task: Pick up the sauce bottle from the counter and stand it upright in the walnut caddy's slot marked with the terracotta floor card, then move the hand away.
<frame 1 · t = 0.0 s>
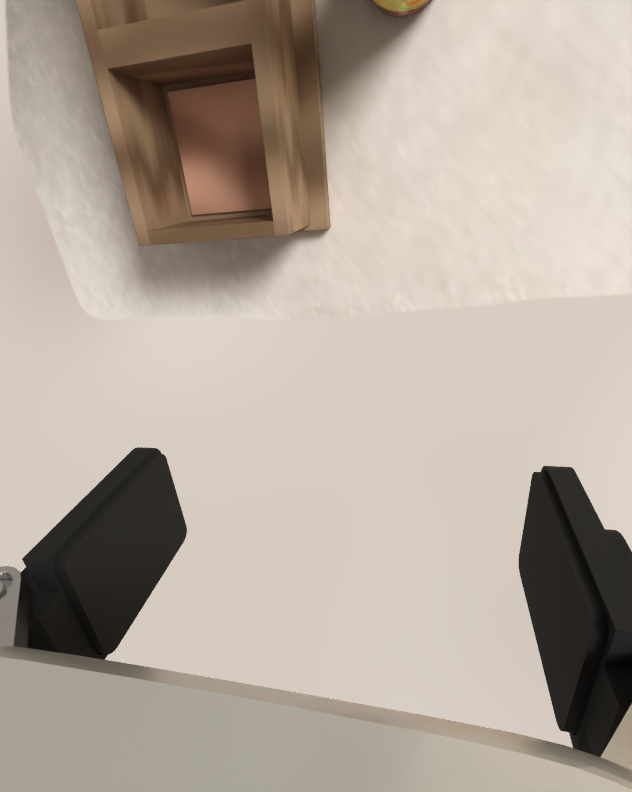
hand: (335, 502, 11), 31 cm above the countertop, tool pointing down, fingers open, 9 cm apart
caddy: (224, 63, 34), on the countertop
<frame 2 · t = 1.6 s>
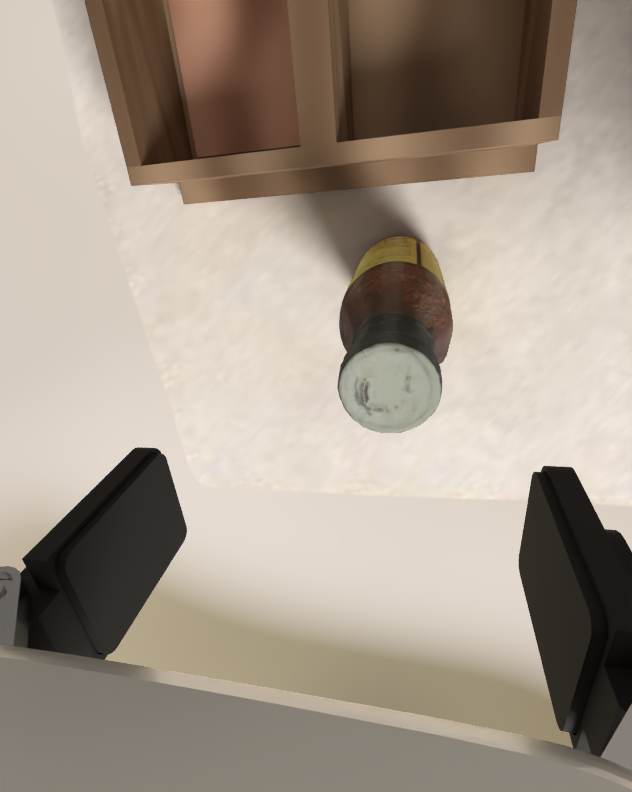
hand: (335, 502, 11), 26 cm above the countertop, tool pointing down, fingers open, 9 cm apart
sauce bottle: (401, 275, 34), on the countertop
caddy: (338, 62, 29), on the countertop
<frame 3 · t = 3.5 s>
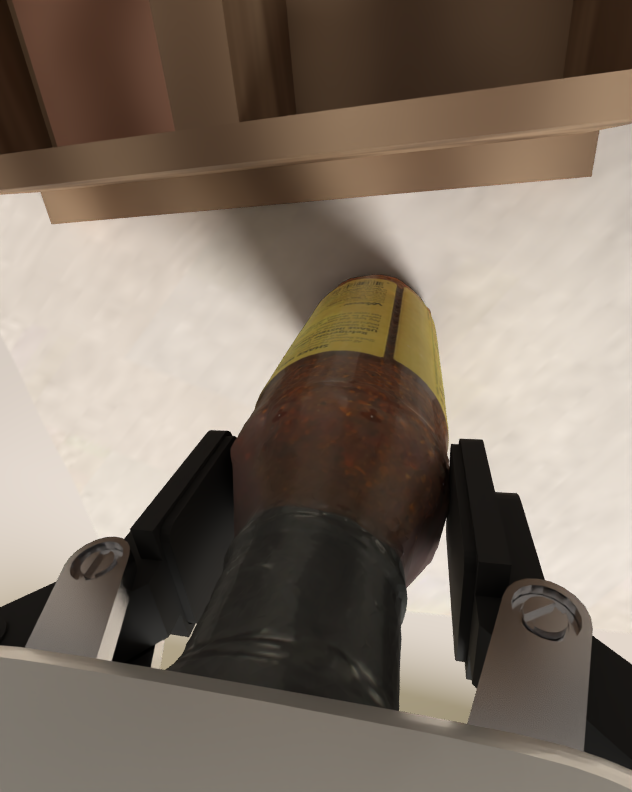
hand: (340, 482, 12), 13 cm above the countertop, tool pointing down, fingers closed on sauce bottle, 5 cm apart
sauce bottle: (378, 330, 23), on the countertop, touching gripper
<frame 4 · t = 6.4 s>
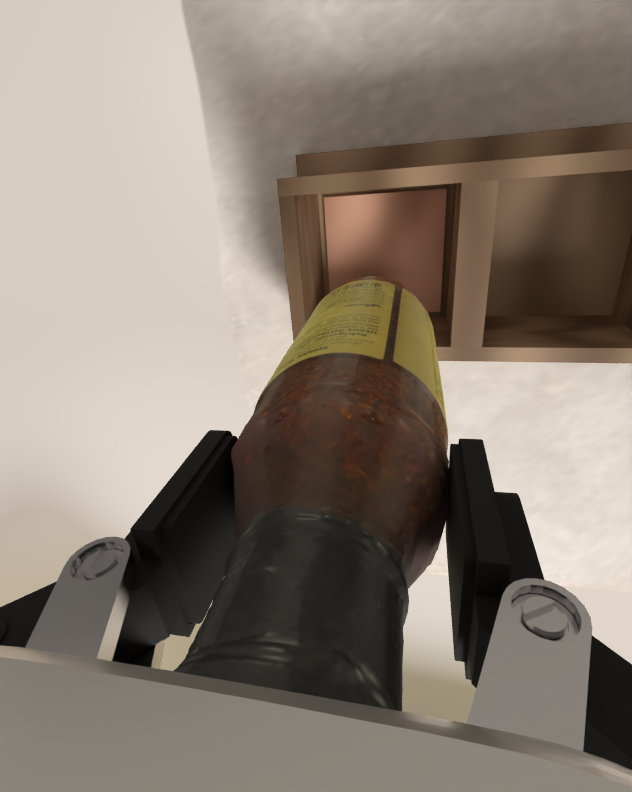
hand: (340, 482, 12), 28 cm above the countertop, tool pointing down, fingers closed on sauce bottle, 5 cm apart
sauce bottle: (376, 331, 23), point 15 cm above the countertop, touching gripper
caddy: (462, 249, 34), on the countertop
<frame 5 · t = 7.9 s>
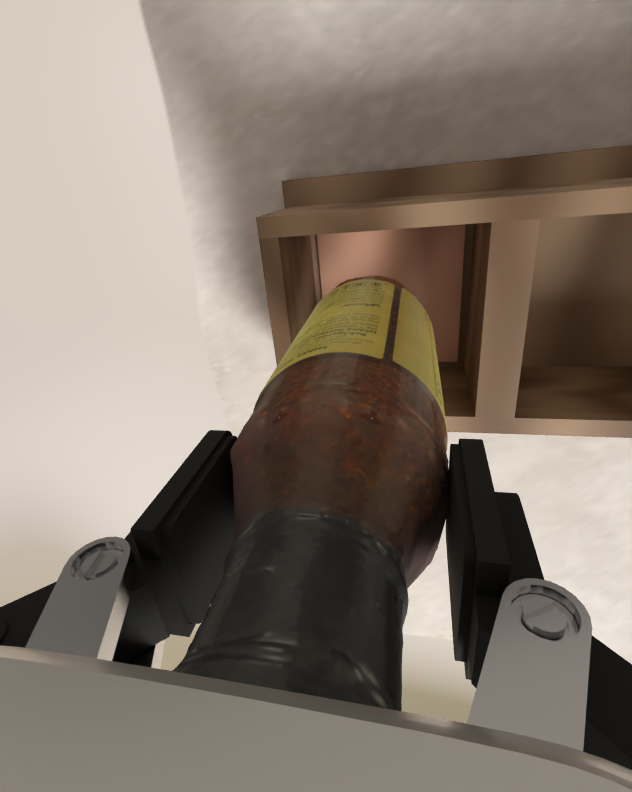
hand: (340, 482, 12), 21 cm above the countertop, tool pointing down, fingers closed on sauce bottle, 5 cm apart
sauce bottle: (375, 330, 23), point 8 cm above the countertop, touching gripper
caddy: (483, 289, 29), on the countertop
when the fingers open (15 cm above the countertop, at t = 9.4 s): sauce bottle stays where it is, resting on caddy.
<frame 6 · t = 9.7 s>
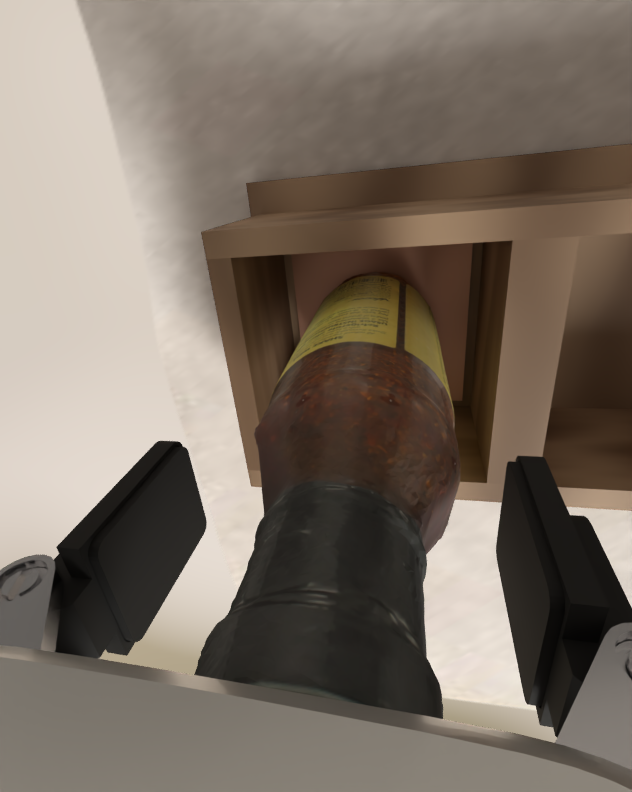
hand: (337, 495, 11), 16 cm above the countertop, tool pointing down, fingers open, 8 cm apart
sauce bottle: (379, 325, 24), point 1 cm above the countertop, touching caddy
caddy: (493, 314, 23), on the countertop
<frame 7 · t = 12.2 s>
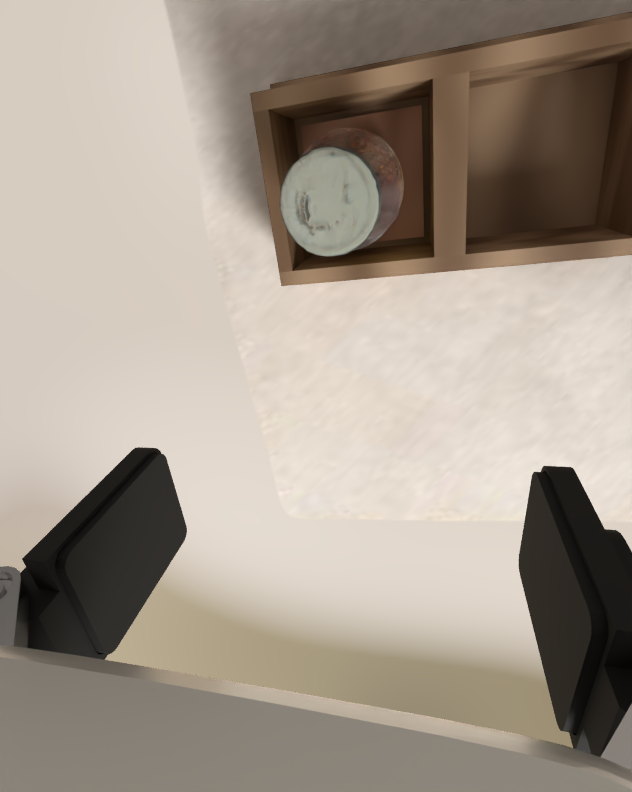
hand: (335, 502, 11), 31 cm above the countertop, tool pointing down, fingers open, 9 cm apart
sauce bottle: (363, 183, 34), point 1 cm above the countertop, touching caddy
caddy: (442, 171, 34), on the countertop
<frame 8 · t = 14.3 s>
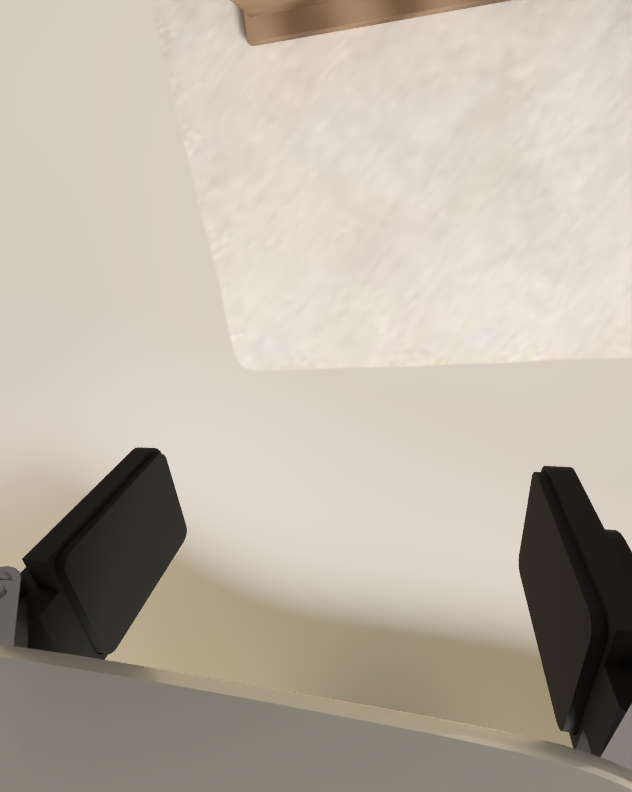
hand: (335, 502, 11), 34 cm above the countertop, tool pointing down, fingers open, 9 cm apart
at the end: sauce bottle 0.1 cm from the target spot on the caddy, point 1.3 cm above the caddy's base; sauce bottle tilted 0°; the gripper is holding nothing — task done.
